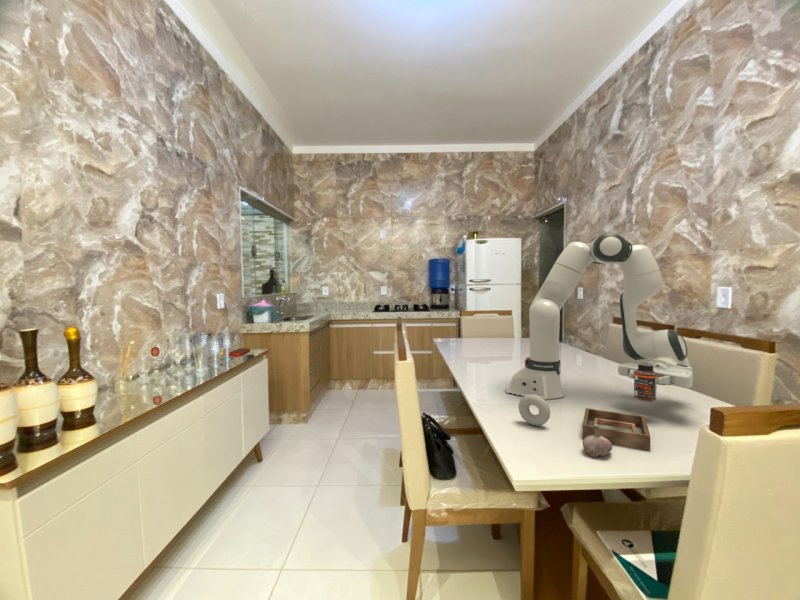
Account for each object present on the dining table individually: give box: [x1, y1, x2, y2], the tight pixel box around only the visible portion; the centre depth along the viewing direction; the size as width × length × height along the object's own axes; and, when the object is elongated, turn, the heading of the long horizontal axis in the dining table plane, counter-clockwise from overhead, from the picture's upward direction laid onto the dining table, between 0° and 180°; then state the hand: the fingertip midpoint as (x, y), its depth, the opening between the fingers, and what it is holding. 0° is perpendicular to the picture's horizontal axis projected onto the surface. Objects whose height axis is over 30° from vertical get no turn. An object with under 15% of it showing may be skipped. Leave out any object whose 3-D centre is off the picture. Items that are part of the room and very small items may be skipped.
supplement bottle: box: [633, 362, 658, 402], centre depth 112 cm, size 6×6×11 cm
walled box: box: [582, 407, 651, 452], centre depth 103 cm, size 16×16×4 cm
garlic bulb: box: [582, 424, 613, 458], centre depth 92 cm, size 8×7×8 cm
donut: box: [518, 394, 551, 427], centre depth 111 cm, size 10×4×10 cm, turn 48°
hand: (644, 378), depth 112 cm, fingers closed on supplement bottle, 6 cm apart
